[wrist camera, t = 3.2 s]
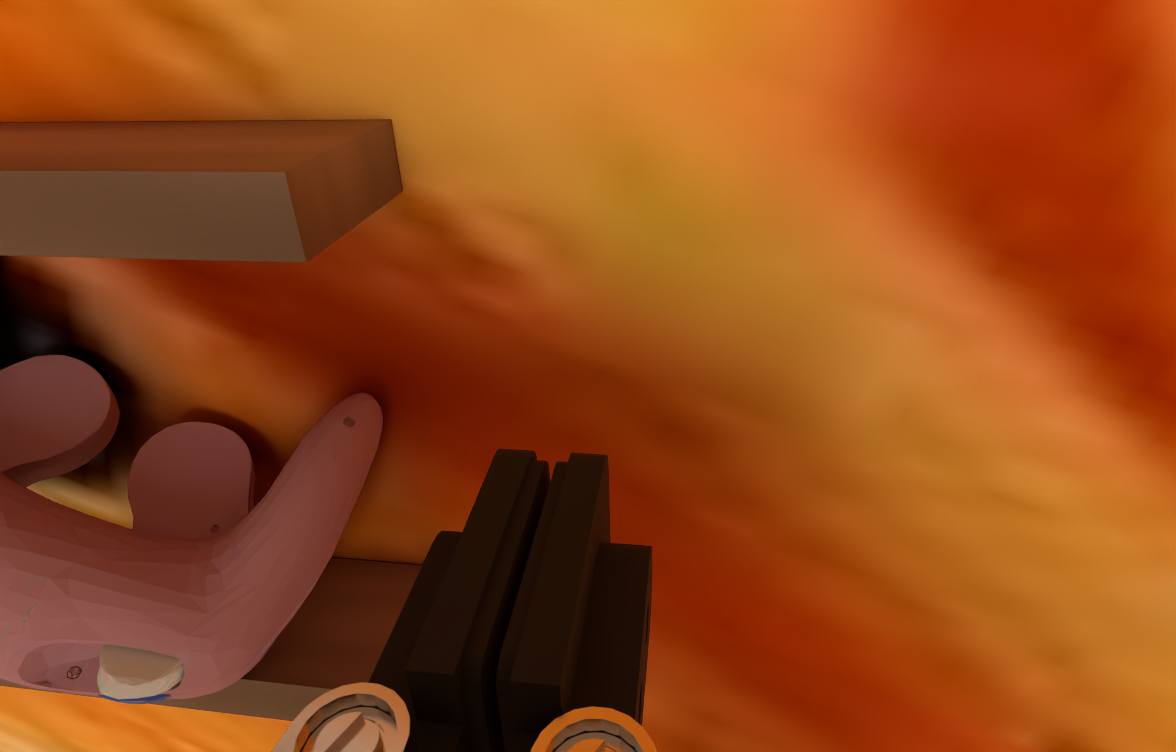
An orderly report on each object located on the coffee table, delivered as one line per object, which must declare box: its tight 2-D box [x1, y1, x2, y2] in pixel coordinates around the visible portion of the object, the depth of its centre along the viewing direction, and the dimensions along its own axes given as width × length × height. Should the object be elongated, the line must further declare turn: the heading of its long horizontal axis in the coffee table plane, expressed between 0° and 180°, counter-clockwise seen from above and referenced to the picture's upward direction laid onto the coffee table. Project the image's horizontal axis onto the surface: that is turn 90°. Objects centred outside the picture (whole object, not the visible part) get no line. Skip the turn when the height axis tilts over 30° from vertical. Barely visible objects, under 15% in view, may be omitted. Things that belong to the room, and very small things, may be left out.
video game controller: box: [0, 355, 383, 704], centre depth 14 cm, size 10×5×7 cm, turn 64°
